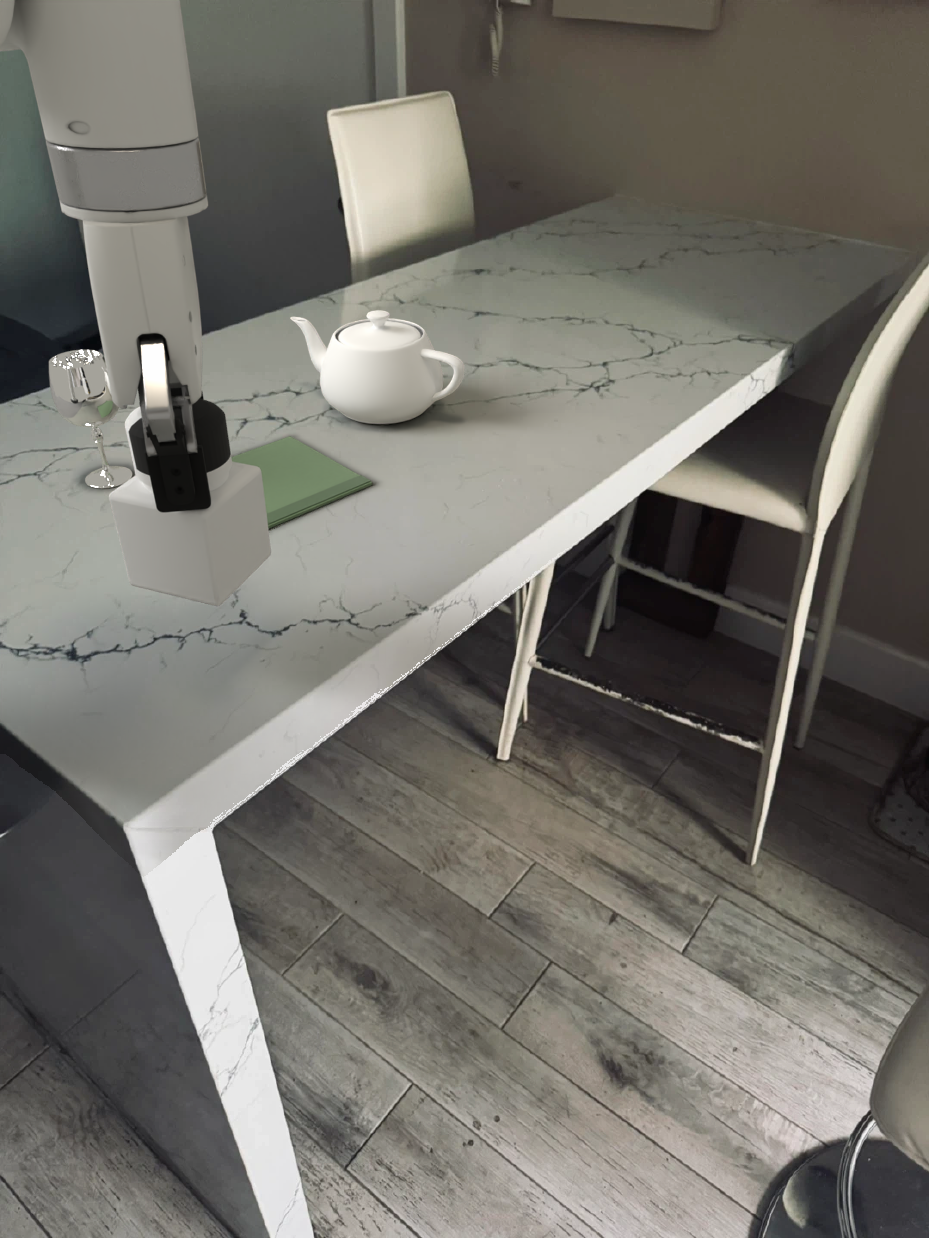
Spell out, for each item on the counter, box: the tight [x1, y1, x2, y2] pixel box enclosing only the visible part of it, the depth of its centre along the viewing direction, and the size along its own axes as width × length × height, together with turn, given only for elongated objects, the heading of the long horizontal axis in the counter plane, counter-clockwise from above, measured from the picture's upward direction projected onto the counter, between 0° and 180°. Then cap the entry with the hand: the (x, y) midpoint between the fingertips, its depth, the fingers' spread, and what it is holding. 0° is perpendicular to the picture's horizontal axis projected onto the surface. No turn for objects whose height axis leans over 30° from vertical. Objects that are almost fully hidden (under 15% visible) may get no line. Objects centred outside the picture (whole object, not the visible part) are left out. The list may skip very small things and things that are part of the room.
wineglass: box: [48, 349, 134, 489], centre depth 82 cm, size 6×6×12 cm
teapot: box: [289, 309, 466, 425], centre depth 96 cm, size 22×14×11 cm, turn 63°
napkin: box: [231, 435, 373, 530], centre depth 84 cm, size 16×14×1 cm
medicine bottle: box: [108, 399, 272, 607], centre depth 57 cm, size 7×7×12 cm
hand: (185, 475), depth 57 cm, fingers closed on medicine bottle, 7 cm apart
